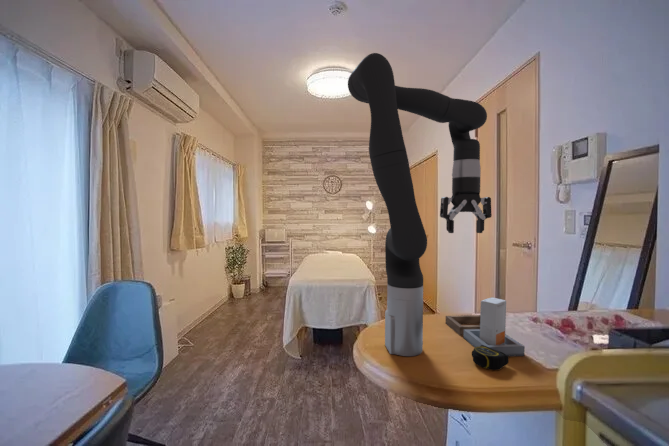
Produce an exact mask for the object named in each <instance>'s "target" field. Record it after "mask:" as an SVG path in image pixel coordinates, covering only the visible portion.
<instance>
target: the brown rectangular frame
mask: <svg viewBox="0 0 669 446" xmlns="http://www.w3.org/2000/svg"><path fill="white" fill-rule="evenodd" d="M445 324H446V326H448V327H449V328H450V329H452V331H454V332H455V333H456V334H457V335H459V336H464V330H465V329H480V314H469V315H468V314H467V315H463V314H462V315H445Z"/></svg>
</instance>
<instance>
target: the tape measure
mask: <svg viewBox="0 0 669 446" xmlns="http://www.w3.org/2000/svg"><path fill="white" fill-rule="evenodd" d="M471 357H472V361H473V363H474V364H475V365H476V366H478V367H481V368H483V369H486V370H492V371H499V370H502V369H503V368H504V367H505V366H507V365H508V364H509V356H507V355H506V354H504V353H503V352H500V351H498V350H495V349H493V348H490V347H487V346H484V345H481V346H479V347H473V350H472V351H471Z"/></svg>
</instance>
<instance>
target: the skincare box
mask: <svg viewBox="0 0 669 446" xmlns="http://www.w3.org/2000/svg"><path fill="white" fill-rule="evenodd" d="M479 312H480V314H479V315H480V324H479V325H480V339H481V340H482V341H483V342H485V343H486V344H487V345H503V344H505V334H506V325H507V324H506V323H507V320H506V319H507V299H506V300H505V299H501V298H496V297H488V298H485V299H483V300H480V310H479Z"/></svg>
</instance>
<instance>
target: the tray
mask: <svg viewBox="0 0 669 446" xmlns="http://www.w3.org/2000/svg"><path fill="white" fill-rule="evenodd" d="M463 339H464V340H465V341H466V342H467V343H468V344H469V345H471V346H472V347H473V348H475V347H479V346H481V345H484V346H487V347H490V348H493V349H495V350H498V351H500V352H503V353H504V354H506V355H507V356H508V357H525V345H523V344H522V343H520V342H519V341H517V340H516V339H514V338H513V337H511V336H509V335H508V334H506V333H505V344H503V345H487V344H486V343H485V342H483V341H482V340H481V339H480V329H465V330H464V335H463Z"/></svg>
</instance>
